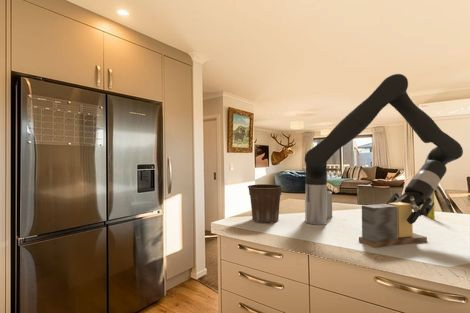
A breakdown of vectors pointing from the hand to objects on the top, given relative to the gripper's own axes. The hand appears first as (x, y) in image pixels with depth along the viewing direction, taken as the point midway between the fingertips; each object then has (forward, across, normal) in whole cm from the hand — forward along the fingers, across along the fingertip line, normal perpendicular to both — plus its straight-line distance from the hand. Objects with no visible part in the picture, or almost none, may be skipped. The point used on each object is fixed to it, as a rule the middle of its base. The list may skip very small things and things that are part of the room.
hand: (397, 219), depth 89 cm
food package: (-27, -26, +38) cm, 54 cm away
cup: (+6, -42, +4) cm, 42 cm away
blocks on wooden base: (+7, 0, +4) cm, 8 cm away
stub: (+3, 0, +5) cm, 6 cm away
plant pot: (+28, -42, -18) cm, 53 cm away
